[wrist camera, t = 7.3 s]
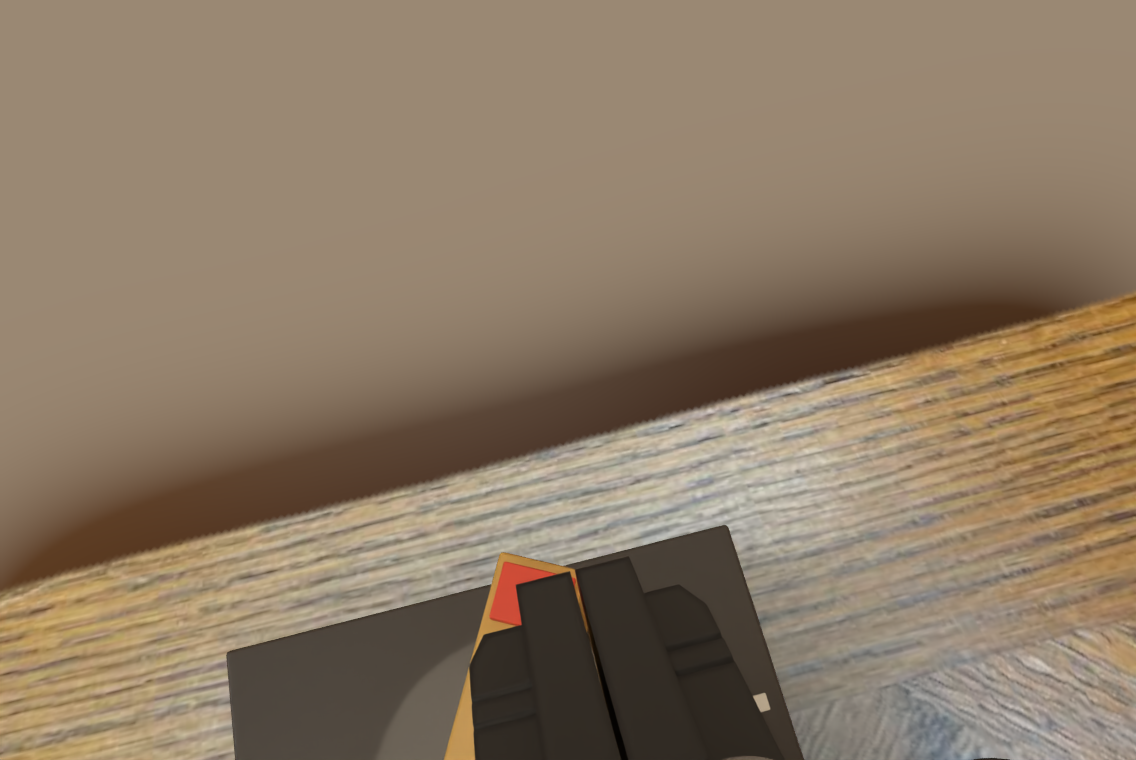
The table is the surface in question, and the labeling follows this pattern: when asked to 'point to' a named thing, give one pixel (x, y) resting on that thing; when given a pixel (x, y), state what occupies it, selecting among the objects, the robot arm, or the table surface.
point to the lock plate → (454, 665)
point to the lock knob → (495, 618)
